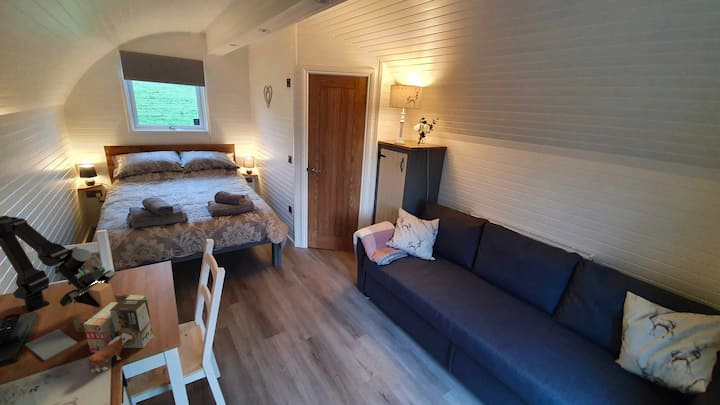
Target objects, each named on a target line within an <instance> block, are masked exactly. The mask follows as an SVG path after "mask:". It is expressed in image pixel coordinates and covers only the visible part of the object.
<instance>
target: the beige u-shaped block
mask: <svg viewBox="0 0 720 405" xmlns="http://www.w3.org/2000/svg"><path fill="white" fill-rule="evenodd" d="M130 295H131V294H124V293H116V294H115V295H114V299H115V302H117V303H118V302H119V301H121V300H122V299H126V298H127V297H128V296H130ZM87 321H88V320H84V319H83V320H82V319H78V318H77V319H75V320H74V321H73V324H74V328H75V332H76V333H77V332H78V333H84V334H85V328H84V323H85V322H87Z"/></svg>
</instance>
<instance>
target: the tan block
mask: <svg viewBox="0 0 720 405" xmlns="http://www.w3.org/2000/svg"><path fill="white" fill-rule="evenodd" d="M88 292H89V295H90V296H91V297H92V298H93V299H94V300H95V301H96V302H97V303H98V304H99V305H100V306H99V307H94V306H91V305H90V306H91V311H92V315H93V316H95V315H96V314H97V313H99V312H100V311H101V310H102V309H104V308H105V307H106V306H107V305H109V304H110V303H111V302H115V295H114V292H113V286H112V283H108V284H107V283H101V282H100V283H98V284H96V285H95V286H93V287H91V288H89V289H88ZM93 316H92V317H93Z"/></svg>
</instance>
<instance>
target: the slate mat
mask: <svg viewBox="0 0 720 405" xmlns="http://www.w3.org/2000/svg"><path fill="white" fill-rule="evenodd" d="M78 344H79V343H78V341H76V340H75V339H73V338H71V337H70V336H69V335H68V334H66V333H64V332H63V331H62V330H60V329H59V328H57V329H55V330H53V331H50V332H49V333H46V334H45V335H42V336H40V337H38V338H36V339H34V340H31V341H29V342H27V343H25V347H27V348H28V349H29V350H30V351H31V352H33V353H34V354H35V355H37V356H38V358H41V360H42V361H44V362H46V361H48V360H50V359H52V358H53V357H55V356H57V355H59V354H61V353H64V352H65V351H68V350H69V349H72V348H73V347H76V346H77V345H78Z"/></svg>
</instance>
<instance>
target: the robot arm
mask: <svg viewBox="0 0 720 405" xmlns="http://www.w3.org/2000/svg"><path fill="white" fill-rule="evenodd" d="M17 237H18V238H19V239H20V240H21V241H22V242H24V243H25V244H26V245H27V246H29V247H30V248H32V249H33V250H34V251H35V252H36V254H37V258H38V260H40V261H41V263H42V264H43V265H45V266H46V267H54V266H55V267H54V268H55V270H54V274H55V275H57V274H60V275H62V277H64V279H66V281H68V282H67V284H68V286H71V285H72V286H73V287H74V288H75V289H73V290H70V291H68V292H67V293H65V294H64V295H63V296H62V297H61V298H60V300H59V304H60V305H61V306H62V307H63V308H64V307H66V306H68V305H70V304H71V303H72V304H76V303H77V304H82V305H88V306H94V307H99V306H100V305H99V304H98V303H97V302H96V301H95V300H94V299H93V298H92V297H91V296H90V295H89V292H88V289H89V288H91V287H93V286H95V285H96V284H98V283H100V282H101V283H107V284H109V282H110V281H111V280H112V278H114V277H115V276H116V273H115V271H114V270H111V269H110V270H107V271H106V269H105V267H104V266H103V265H102V264H98V265H96V266H94V267H93V270H91V271H90V270H89V269H84V268H83V267H84V266H85V265H86V264H87V262H89V261H90V259H91V257H92V253H91V251H90V250H87V249H85V248H78V246H75V247H73V248H66V247H65V246H63V245H61V244H60V243H56V242H52V241H51V240H49V239H47V238H46V237H45V236H44V235H42V234H41V233H40V232H39V231H37V230H36V229H35V228H34V227H33V226H31V225H30V224H28V221H27V220H26V219H25V218H23V217H22V218H20V217H18V216H8V215H1V216H0V248H1V250H2V251H3V253H4V254H5V256H6V257H7V259H8V261H9V262H10V264H11V266H12V267H13V269H14V270H15V273H16V279H15V284H16V286H17V288H16V289H15V290H14V291H13V293H12V295H13V296H14V298H15V299H21V300H23V303H24V305H22V307H21V308H23V309H24V310H26V312H29V313H30V312H33V311H36V310H39V309H41V308H43V307H46V306H48V305H50V302H49V301H48V300H47V299H45V295H44V290H47V289H49V285H50V283H49V282H50V278H49V276H48V275H47V274H46V272H45V270H43V269H41V270H40V269H37V268H35V267H34V265H33V263H32V261H31V260H30V258H29V256H28V255H27V253H26V251H25V249H24V248H23V246H22V245H21V243H20V242H19V240H18V238H17Z"/></svg>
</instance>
